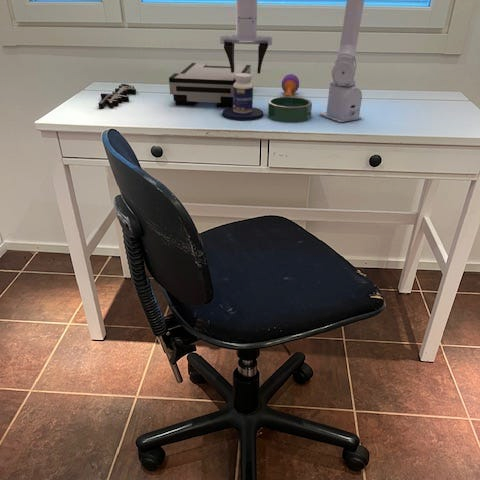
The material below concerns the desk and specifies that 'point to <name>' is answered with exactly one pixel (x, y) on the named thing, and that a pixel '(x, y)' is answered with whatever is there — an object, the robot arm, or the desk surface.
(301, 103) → the ring
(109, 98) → the dark jagged flat part
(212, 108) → the desk surface
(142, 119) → the desk surface
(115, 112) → the desk surface
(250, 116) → the navy blue disc
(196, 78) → the game console
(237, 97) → the pill bottle
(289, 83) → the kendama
